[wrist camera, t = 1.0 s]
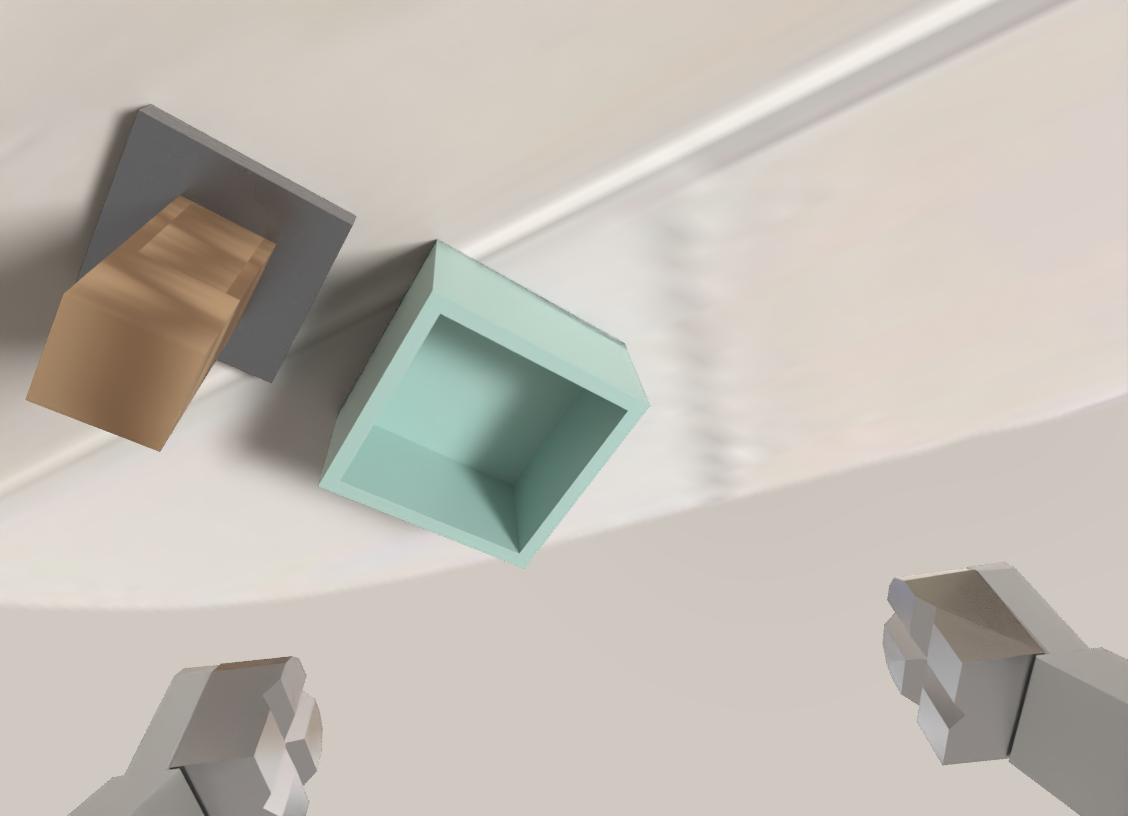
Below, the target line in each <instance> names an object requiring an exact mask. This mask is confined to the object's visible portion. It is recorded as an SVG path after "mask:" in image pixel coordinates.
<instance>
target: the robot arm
mask: <svg viewBox="0 0 1128 816" xmlns="http://www.w3.org/2000/svg"><path fill="white" fill-rule="evenodd" d="M887 600H888V602H889V603H890V605H891V606H892V608H893V610H894V611H895V613H894V614H893V615H892V617H891V618H890V619H889V620H888V621H887V622H886V623H885V624H884V634H883V647H884V653H885V658H886V663H887V666H888V669H889V671H890V674H891V676H892V679H893V681H894V682H895V684H896V686H897V688H898V690H899V691H900V693H901V694H902V695H904V696H905V697H907V698H908V699H910V700H911V701H913V702H915V703H916V704H918V705H919V712H918V719H917V723H918V724H919V726H920V727H921V729H922V731H923V733H924V734H925V736H926V738H927V740H928V741H929V743H930V745H931V746H932V748H933V750H934V752H935V753H936V755H937V757H938V758H939V760H940V762H941V763H942V765H949V764H959V763H969V762H978V761H987V760H998V759H1007V758H1010V759H1009V762H1010V763H1011V764H1013V765H1014V766H1015V767H1016V768H1018V769H1019V770H1021V771H1022V772H1023V773H1024V774H1026V775H1027V776H1028V777H1030V778H1031V779H1032V780H1034V781H1035V782H1037V783H1038V784H1039V785H1040V786H1042V787H1043V788H1045V789H1046V790H1047V791H1048V792H1050V793H1051V794H1052V795H1054V796H1055V797H1056V798H1058V799H1059V800H1060V801H1062V802H1063V803H1064V804H1066V805H1067V806H1068V807H1070V808H1071V809H1072V810H1074V811H1075V812H1076V813H1078V814H1079V815H1080V816H1128V660H1127V659H1125V658H1123V657H1121V656H1119V655H1117V654H1115V653H1113V652H1110V651H1108V650H1106V649H1104V648H1102V647H1100V648H1091V649H1090V648H1089V647H1088V646H1087V645H1086V644H1085V643H1084V642H1083V641H1082V639H1081V638H1080V637H1079V636H1078V635H1077V634H1076V633H1075V632H1074V631H1073V630H1072V629H1071V628H1070V626H1069V625H1068V624H1067V623H1066V622H1065V621H1064V620H1063V619H1062V618H1061V617H1060V616H1059V615H1058V614H1057V612H1056V611H1055V610H1054V609H1053V608H1052V607H1051V606H1050V605H1049V604H1048V603H1047V602H1046V601H1045V600H1044V599H1043V597H1042V596H1041V595H1040V594H1039V593H1038V592H1037V591H1036V590H1035V589H1034V588H1033V587H1032V586H1031V584H1030V583H1029V582H1028V581H1027V580H1026V579H1025V578H1024V577H1023V576H1022V575H1021V574H1020V573H1019V572H1018V570H1017V569H1016V568H1015V567H1014V566H1012V565H1010V564H1008V563H1006V562H1000V563H993V564H986V565H979V566H972V567H967V568H960V569H953V570H946V571H939V572H931V573H924V574H917V575H910V576H903V577H895V578H894V579H893V580H892V582H891V584H890V585H889V592H888V599H887ZM305 679H306V673H305V671H304V669H303V666H302V664H301V662H300V660H299V658H296V657H292V656H291V657H281V658H272V659H264V660H253V661H243V662H234V663H225V664H220V665H214V666H204V667H194V668H184V669H183V670H181V671H180V672H179V673H178V674H177V675H175V676H174V678H173V680H172V681H171V684H170V685H169V687H168V689H167V691H166V693H165V695H164V697H163V699H162V701H161V703H160V705H159V707H158V709H157V711H156V713H155V715H154V717H153V719H152V721H151V723H150V725H149V727H148V729H147V731H146V733H145V735H144V737H143V739H142V741H141V743H140V745H139V747H138V749H137V751H136V753H135V755H134V757H133V759H132V761H131V763H130V765H129V767H128V769H127V771H126V773H125V775H124V776H118V777H112V778H111V779H110V780H109V781H107V783H105V784H104V785H103V786H102V787H100V788H99V789H98V790H97V791H96V792H95V793H94V794H92V795H91V796H90V797H89V798H88V799H86V800H85V801H84V802H83V803H82V804H81V805H79V806H78V807H77V808H76V809H75V810H74V811H72V812H71V813H70V814H69V815H68V816H306V813H307V809H308V805H309V800H308V798H307V795H306V792H305V790H304V787H303V786H304V784H305V783H306V782H307V781H308V780H309V779H310V778H311V777H312V776H313V775H314V774H315V772H316V771H317V768H318V764H319V760H320V756H321V751H322V722H321V716H320V711H319V708H318V705H317V703H316V700H315V698H313V697H311V696H310V695H308V694H307V693H305V692H304V691H302V689H303V686H304V683H305Z"/></svg>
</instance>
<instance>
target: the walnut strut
mask: <svg viewBox="0 0 1128 816" xmlns="http://www.w3.org/2000/svg"><path fill="white" fill-rule="evenodd" d="M275 246H276V244H275V243H273V242H271V241H269V240H267V239H265V238H263V237H261V236H259V235H257V234H255V233H253V232H251V231H249V230H248V229H246V228H244V227H242V226H240V225H238V224H236V223H234V222H232V221H230V220H228V219H226V218H224V217H222V216H220V215H218V214H216V213H214V212H212V211H210V210H208V209H206V208H204V207H202V206H200V205H198V204H197V203H195V202H193V201H191V200H189V199H187V198H185V197H183V196H181V195H179V196H178V197H177V198H176V199H175V200H174V201H172V202H171V203H170V204H169V205H168V206H166V207H165V208H164V209H163V210H162V211H161V212H159V213H158V214H157V215H156V216H155V217H153V218H152V219H151V220H150V221H149V222H148V223H146V224H145V225H144V226H143V227H142V228H140V229H139V230H138V231H137V232H136V233H135V234H133V235H132V236H131V237H130V238H129V239H127V240H126V241H125V242H124V243H123V244H122V245H120V246H119V247H118V248H117V249H116V250H114V251H113V252H112V253H111V254H110V255H109V256H107V257H106V258H105V259H104V260H103V261H101V262H100V263H99V264H98V265H97V266H96V267H94V268H93V269H92V270H91V271H90V272H89V273H87V274H86V275H85V276H84V277H83V278H81V279H80V280H79V281H78V282H77V283H76V284H74V285H73V286H72V287H71V288H70V289H68V290H67V291H66V292H65V293H64V294H63V296H62V299H61V302H60V305H59V308H58V310H57V313H56V316H55V319H54V321H53V324H52V327H51V330H50V333H49V335H48V338H47V341H46V344H45V347H44V349H43V352H42V355H41V358H40V361H39V363H38V366H37V369H36V372H35V375H34V377H33V380H32V383H31V386H30V389H29V391H28V394H27V397H26V400H27V401H30V402H32V403H35V404H37V405H40V406H43V407H45V408H48V409H50V410H53V411H56V412H58V413H61V414H63V415H66V416H69V417H71V418H74V419H76V420H79V421H82V422H84V423H87V424H89V425H92V426H94V427H97V428H100V429H102V430H105V431H107V432H110V433H113V434H115V435H118V436H120V437H123V438H126V439H128V440H131V441H133V442H136V443H139V444H141V445H144V446H146V447H149V448H152V449H154V450H157V451H159V452H160V451H161V450H162V448H163V446H164V445H165V443H166V441H167V440H168V438H169V436H170V435H171V433H172V431H173V430H174V428H175V427H176V425H177V423H178V422H179V420H180V418H181V417H182V415H183V413H184V412H185V410H186V409H187V407H188V405H189V404H190V402H191V400H192V399H193V397H194V395H195V394H196V392H197V390H198V389H199V387H200V386H201V384H202V382H203V381H204V379H205V377H206V376H207V374H208V372H209V371H210V369H211V367H212V366H213V364H214V363H215V361H216V359H217V358H218V356H219V354H220V353H221V351H222V349H223V348H224V346H225V345H226V343H227V341H228V340H229V338H230V336H231V335H232V333H233V331H234V330H235V328H236V326H237V325H238V323H239V322H240V320H241V318H242V316H243V314H244V311H245V309H246V307H247V305H248V303H249V301H250V299H251V297H252V295H253V293H254V290H255V288H256V286H257V284H258V282H259V280H260V278H261V276H262V274H263V271H264V269H265V267H266V265H267V263H268V261H269V259H270V257H271V255H272V253H273V250H274V248H275Z"/></svg>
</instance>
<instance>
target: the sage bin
mask: <svg viewBox="0 0 1128 816" xmlns="http://www.w3.org/2000/svg"><path fill="white" fill-rule="evenodd" d="M649 407H650V403H649V401H648V398H647V396H646V393H645V391H644V389H643V386H642V384H641V382H640V379H639V377H638V374H637V372H636V370H635V367H634V365H633V362H632V360H631V358H630V355H629V353H628V351H627V348H626V346H625V343H623V342H621V341H619V340H618V339H616V338H614V337H612V336H610V335H609V334H607V333H605V332H603V331H601V330H600V329H598V328H596V327H594V326H592V325H591V324H589V323H587V322H585V321H583V320H582V319H580V318H578V317H576V316H574V315H573V314H571V313H569V312H567V311H565V310H564V309H562V308H560V307H558V306H556V305H555V304H553V303H551V302H549V301H547V300H546V299H544V298H542V297H540V296H538V295H537V294H535V293H533V292H531V291H529V290H528V289H526V288H524V287H522V286H520V285H519V284H517V283H515V282H513V281H511V280H510V279H508V278H506V277H504V276H502V275H501V274H499V273H497V272H495V271H493V270H492V269H490V268H488V267H486V266H484V265H483V264H481V263H479V262H477V261H475V260H474V259H472V258H470V257H468V256H466V255H465V254H463V253H461V252H459V251H457V250H456V249H454V248H452V247H450V246H448V245H447V244H445V243H443V242H441V241H439V240H438V239H437V240H436V242H435V244H434V246H433V247H432V249H431V251H430V253H429V254H428V256H427V258H426V260H425V261H424V263H423V265H422V267H421V269H420V270H419V272H418V274H417V276H416V277H415V279H414V281H413V283H412V284H411V286H410V288H409V290H408V291H407V293H406V295H405V297H404V298H403V300H402V302H401V304H400V305H399V307H398V309H397V311H396V312H395V314H394V316H393V318H392V319H391V321H390V323H389V325H388V327H387V328H386V330H385V332H384V334H383V335H382V337H381V339H380V341H379V342H378V344H377V346H376V348H375V349H374V351H373V353H372V355H371V356H370V358H369V360H368V362H367V363H366V365H365V367H364V369H363V370H362V372H361V374H360V376H359V377H358V379H357V381H356V383H355V384H354V386H353V388H352V390H351V392H350V393H349V395H348V397H347V399H346V400H345V402H344V404H343V406H342V407H341V409H340V411H339V413H338V415H337V419H336V422H335V426H334V430H333V433H332V437H331V441H330V445H329V448H328V452H327V456H326V459H325V463H324V467H323V470H322V474H321V478H320V481H319V485H318V487H321V488H323V489H326V490H328V491H331V492H333V493H336V494H338V495H341V496H343V497H346V498H348V499H351V500H353V501H356V502H358V503H361V504H363V505H366V506H368V507H371V508H373V509H376V510H378V511H381V512H383V513H386V514H388V515H391V516H393V517H396V518H398V519H401V520H404V521H406V522H409V523H411V524H414V525H416V526H419V527H421V528H424V529H426V530H429V531H431V532H434V533H436V534H439V535H441V536H444V537H446V538H449V539H451V540H454V541H456V542H459V543H461V544H464V545H466V546H469V547H471V548H474V549H476V550H479V551H481V552H484V553H486V554H489V555H491V556H494V557H496V558H499V559H502V560H504V561H506V562H509V563H512V564H514V565H516V566H519V567H522V568H525V567H526V566H527V564H528V563H529V562H530V560H531V559H532V558H533V557H534V555H535V554H536V553H537V551H538V550H539V549H540V548H541V546H542V545H543V544H544V542H545V541H546V540H547V538H548V537H549V536H550V535H551V533H552V532H553V531H554V529H555V528H556V527H557V526H558V524H559V523H560V522H561V520H562V519H563V518H564V517H565V515H566V514H567V513H568V511H569V510H570V509H571V507H572V506H573V505H574V504H575V502H576V501H577V500H578V498H579V497H580V496H581V495H582V493H583V492H584V491H585V489H586V488H587V487H588V485H589V484H590V483H591V482H592V480H593V479H594V478H595V476H596V475H597V474H598V473H599V471H600V470H601V469H602V467H603V466H604V465H605V463H606V462H607V461H608V460H609V458H610V457H611V456H612V454H613V453H614V452H615V451H616V449H617V448H618V447H619V445H620V444H621V443H622V441H623V440H624V439H625V438H626V436H627V435H628V434H629V432H630V431H631V430H632V429H633V427H634V426H635V425H636V423H637V422H638V421H639V419H640V418H641V417H642V416H643V414H644V413H645V412H646V410H647V409H648V408H649Z"/></svg>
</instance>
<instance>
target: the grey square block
mask: <svg viewBox="0 0 1128 816" xmlns="http://www.w3.org/2000/svg"><path fill="white" fill-rule="evenodd" d="M179 195H181V196H183V197H185V198H187V199H189V200H191V201H193V202H195V203H197V204H198V205H200V206H202V207H204V208H206V209H208V210H210V211H212V212H214V213H216V214H218V215H220V216H222V217H224V218H226V219H228V220H230V221H232V222H234V223H236V224H238V225H240V226H242V227H244V228H246V229H248V230H249V231H251V232H253V233H255V234H257V235H259V236H261V237H263V238H265V239H267V240H269V241H271V242H273V243H275V244H276V246H275V248H274V250H273V253H272V255H271V257H270V259H269V261H268V263H267V265H266V267H265V269H264V271H263V274H262V276H261V278H260V280H259V282H258V284H257V286H256V288H255V290H254V293H253V295H252V297H251V299H250V301H249V303H248V305H247V307H246V309H245V311H244V314H243V316H242V318H241V320H240V322H239V323H238V325H237V326H236V328H235V330H234V331H233V333H232V335H231V336H230V338H229V340H228V341H227V343H226V345H225V346H224V348H223V349H222V351H221V353H220V354H219V356H218V358H217V359H218V360H220V361H222V362H224V363H227V364H229V365H231V366H234V367H236V368H238V369H240V370H243V371H245V372H247V373H249V374H252V375H254V376H256V377H259V378H261V379H263V380H265V381H268V382H270V383H272V381H273V379H274V377H275V375H276V373H277V371H278V369H279V367H280V366H281V364H282V362H283V360H284V358H285V356H286V354H287V352H288V350H289V348H290V346H291V344H292V342H293V340H294V338H295V336H296V334H297V332H298V331H299V329H300V327H301V325H302V323H303V321H304V319H305V317H306V315H307V313H308V311H309V309H310V307H311V305H312V303H313V301H314V299H315V297H316V296H317V294H318V292H319V290H320V288H321V286H322V284H323V282H324V280H325V278H326V276H327V274H328V272H329V270H330V268H331V266H332V264H333V263H334V261H335V259H336V257H337V255H338V253H339V251H340V249H341V247H342V245H343V243H344V241H345V239H346V237H347V235H348V233H349V231H350V229H351V228H352V226H353V223H354V221H355V218H356V216H355V215H353V214H351V213H349V212H348V211H346V210H344V209H342V208H340V207H338V206H337V205H335V204H333V203H331V202H329V201H327V200H326V199H324V198H322V197H320V196H318V195H316V194H315V193H313V192H311V191H309V190H307V189H305V188H304V187H302V186H300V185H298V184H296V183H294V182H293V181H291V180H289V179H287V178H285V177H283V176H282V175H280V174H278V173H276V172H274V171H272V170H271V169H269V168H267V167H265V166H263V165H261V164H260V163H258V162H256V161H254V160H252V159H250V158H248V157H247V156H245V155H243V154H241V153H239V152H237V151H236V150H234V149H232V148H230V147H228V146H226V145H225V144H223V143H221V142H219V141H217V140H215V139H214V138H212V137H210V136H208V135H206V134H204V133H203V132H201V131H199V130H197V129H195V128H193V127H192V126H190V125H188V124H186V123H184V122H182V121H181V120H179V119H177V118H175V117H173V116H171V115H170V114H168V113H166V112H164V111H162V110H160V109H159V108H157V107H155V106H153V105H151V104H150V105H148V106H146V107H144V108H142V109H139V110H138V113H137V116H136V118H135V121H134V124H133V127H132V129H131V132H130V135H129V138H128V140H127V143H126V146H125V149H124V151H123V154H122V157H121V160H120V162H119V165H118V168H117V171H116V173H115V176H114V179H113V182H112V184H111V187H110V190H109V193H108V195H107V198H106V201H105V204H104V206H103V209H102V212H101V215H100V217H99V220H98V223H97V226H96V229H95V231H94V234H93V237H92V240H91V242H90V245H89V248H88V251H87V253H86V256H85V259H84V262H83V264H82V267H81V270H80V273H79V275H78V278H77V281H76V283H77V282H78V281H79V280H80V279H81V278H83V277H84V276H85V275H86V274H87V273H89V272H90V271H91V270H92V269H93V268H94V267H96V266H97V265H98V264H99V263H100V262H101V261H103V260H104V259H105V258H106V257H107V256H109V255H110V254H111V253H112V252H113V251H114V250H116V249H117V248H118V247H119V246H120V245H122V244H123V243H124V242H125V241H126V240H127V239H129V238H130V237H131V236H132V235H133V234H135V233H136V232H137V231H138V230H139V229H140V228H142V227H143V226H144V225H145V224H146V223H148V222H149V221H150V220H151V219H152V218H153V217H155V216H156V215H157V214H158V213H159V212H161V211H162V210H163V209H164V208H165V207H166V206H168V205H169V204H170V203H171V202H172V201H174V200H175V199H176V198H177V197H178V196H179Z"/></svg>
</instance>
